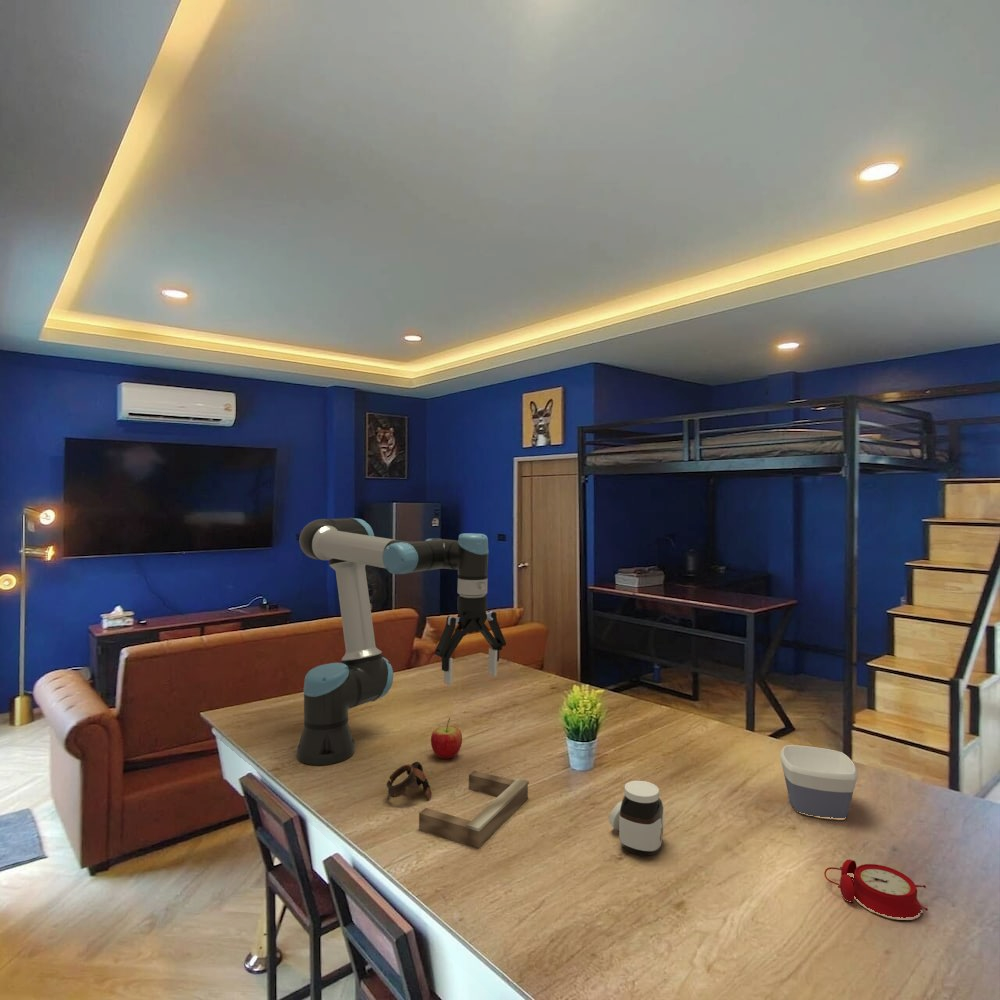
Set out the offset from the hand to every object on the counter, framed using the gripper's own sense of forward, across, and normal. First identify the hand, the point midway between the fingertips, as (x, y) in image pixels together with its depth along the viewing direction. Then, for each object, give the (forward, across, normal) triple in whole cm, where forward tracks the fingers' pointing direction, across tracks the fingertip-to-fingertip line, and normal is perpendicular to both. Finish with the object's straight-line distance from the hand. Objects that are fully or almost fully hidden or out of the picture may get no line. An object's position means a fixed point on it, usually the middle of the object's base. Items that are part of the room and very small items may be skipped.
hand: (470, 679), depth 154 cm
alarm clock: (+23, +30, -82) cm, 90 cm away
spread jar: (+24, +10, -45) cm, 52 cm away
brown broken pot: (+25, -17, 0) cm, 30 cm away
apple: (+25, +1, +13) cm, 28 cm away
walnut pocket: (+24, -9, -16) cm, 31 cm away
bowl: (+23, +54, -61) cm, 85 cm away
